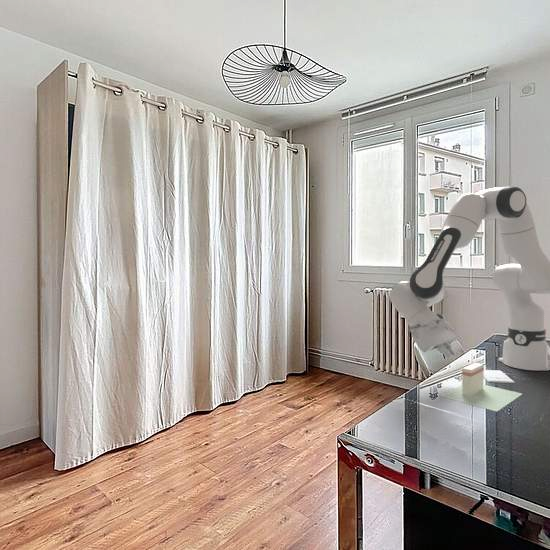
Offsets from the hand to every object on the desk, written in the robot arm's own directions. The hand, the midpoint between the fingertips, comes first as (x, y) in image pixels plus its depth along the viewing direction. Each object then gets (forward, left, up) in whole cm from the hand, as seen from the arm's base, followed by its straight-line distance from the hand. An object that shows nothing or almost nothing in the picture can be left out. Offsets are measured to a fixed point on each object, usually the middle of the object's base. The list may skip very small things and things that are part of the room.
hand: (452, 356), depth 127 cm
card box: (0, +7, -10) cm, 12 cm away
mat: (+1, +10, -10) cm, 14 cm away
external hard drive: (-20, +6, -11) cm, 24 cm away
